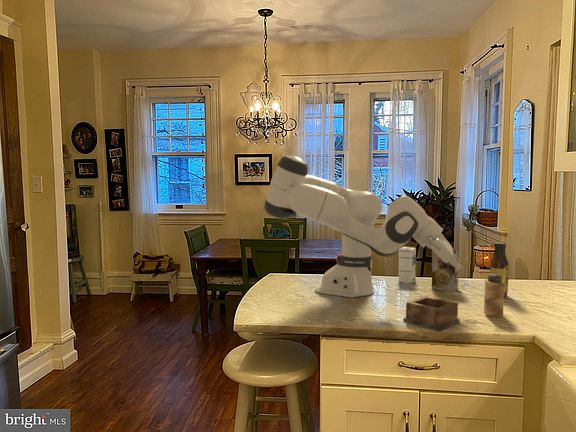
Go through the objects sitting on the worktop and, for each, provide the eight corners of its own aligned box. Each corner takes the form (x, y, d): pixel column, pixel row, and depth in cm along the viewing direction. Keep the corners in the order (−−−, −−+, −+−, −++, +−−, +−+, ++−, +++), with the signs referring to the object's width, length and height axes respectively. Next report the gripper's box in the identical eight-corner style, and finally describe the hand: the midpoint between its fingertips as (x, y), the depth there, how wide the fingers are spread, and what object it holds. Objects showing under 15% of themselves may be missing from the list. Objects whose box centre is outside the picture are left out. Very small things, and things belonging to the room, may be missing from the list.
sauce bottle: (509, 297, 164) (512, 244, 162) (491, 297, 165) (493, 243, 163) (504, 293, 170) (507, 242, 168) (487, 292, 171) (489, 241, 170)
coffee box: (458, 288, 177) (459, 248, 176) (454, 292, 172) (456, 250, 171) (435, 285, 182) (436, 246, 181) (430, 288, 177) (432, 248, 175)
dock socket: (403, 321, 136) (403, 302, 136) (424, 313, 144) (424, 295, 144) (439, 331, 127) (440, 310, 127) (459, 322, 136) (460, 303, 135)
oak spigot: (485, 316, 142) (487, 276, 141) (484, 311, 147) (485, 273, 145) (502, 317, 140) (504, 277, 139) (500, 313, 145) (502, 274, 144)
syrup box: (411, 283, 185) (412, 249, 184) (397, 282, 188) (398, 248, 187) (415, 281, 190) (416, 247, 189) (402, 279, 193) (402, 246, 192)
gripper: (436, 232, 137) (469, 265, 134) (436, 225, 156) (465, 254, 154) (421, 245, 138) (453, 279, 136) (423, 237, 158) (451, 266, 155)
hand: (459, 266), depth 145 cm, fingers open, 8 cm apart
